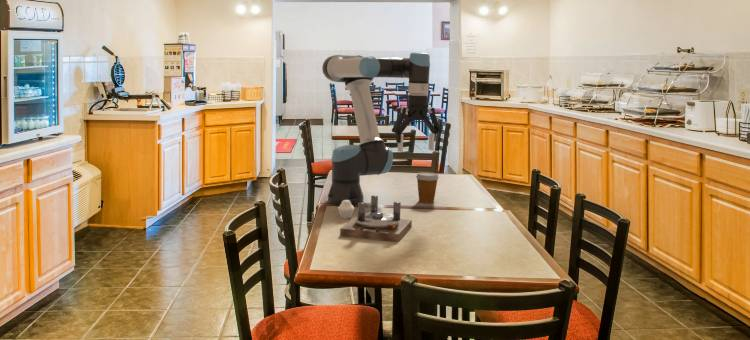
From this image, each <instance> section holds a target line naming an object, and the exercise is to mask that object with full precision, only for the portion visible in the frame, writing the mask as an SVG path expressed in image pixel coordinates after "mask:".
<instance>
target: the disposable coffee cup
mask: <svg viewBox="0 0 750 340" xmlns="http://www.w3.org/2000/svg"><path fill="white" fill-rule="evenodd" d="M415 178H416V180H417V181H416V183H417V190H418V191H417V192H418V202H420V203H422V204H423V203H424V204H431V203H434V202H435V198H436V190H437V184H438V181H439V175H438V173H436V172H430V171H423V172H422V171H421V172H417V174H416V176H415Z"/></svg>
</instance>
